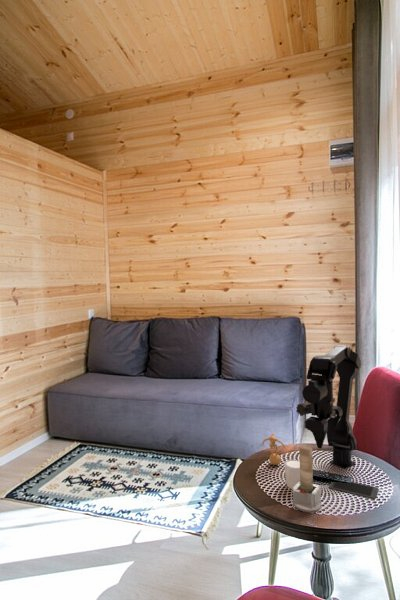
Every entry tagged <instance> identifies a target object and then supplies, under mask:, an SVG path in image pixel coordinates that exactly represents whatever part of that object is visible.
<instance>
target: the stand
mask: <svg viewBox="0 0 400 600" xmlns="http://www.w3.org/2000/svg"><path fill="white" fill-rule="evenodd" d="M292 505H293V507H294V508H295V509H296V510H298V511H300V512H303V513H315V512H316V513H317V512H319V511H320V510H321V509H322V490H321V485H318V484H314V483H313V490H312V491H310V492H306V491H304V490H301V489H300V482H298V483H297V484H296V485H295V486H294V487H293V489H292Z"/></svg>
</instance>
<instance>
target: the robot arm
mask: <svg viewBox="0 0 400 600" xmlns="http://www.w3.org/2000/svg"><path fill="white" fill-rule="evenodd" d="M361 367H362V360H361V358H360V356H359V354H358V353H356V352H355V351H353V350H352V349H351V347H350V346H348V345H334V347H333V348H332V349H331V350H329V351H328V352H327V353H325V354H322V355H315V356H312V359H311V360H310V362H309V365H308V370H307V373H306V380H308V381H307V382H308V383H307V385H305V386H304V387H303V388H302V392H301V393H302V397H303V399H304V400H305V402H302V403H298V404H297V405H296V406H297V407H296V410H295V411H296V413H298V414H299V416H300V417H304V416H305V415H310V414H311V416H309V417H308V418H307V419H305V420H304V422H303V423H304V428H305V429H307V430H308V431H310V432H311V433H312V436H313V438H314V440H315V443H316V447H317V449H319V450H320V449H322V447H323V445H324V442H325V439H326V441H327V445H328V447H332V460H330V461H329V463H330V464H332V465H335V466H337V467H339V468H342V469H345V470H346V469H348V468H350V467H352V466H354V465H356V461H353V460H352V459H353V458H352V452H353V451H356V450H357V439H356V437H355V435H354V434H353V433H354V432H353V426H352V424H351V423H350V412H351V411H350V410H351V402H352V393H353V392H352V391H353V384H354V383H353V382H354V380H355V379H356V378H357V376H359V372H360V369H361ZM336 373H337V375H338V377H339V380H338V381H339V382H338V391H337V398H336V397H334V386H333V385H334V382H333V380H334V379H335V378H336ZM336 399H337V400H336ZM335 402H336V405H334V403H335Z"/></svg>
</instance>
